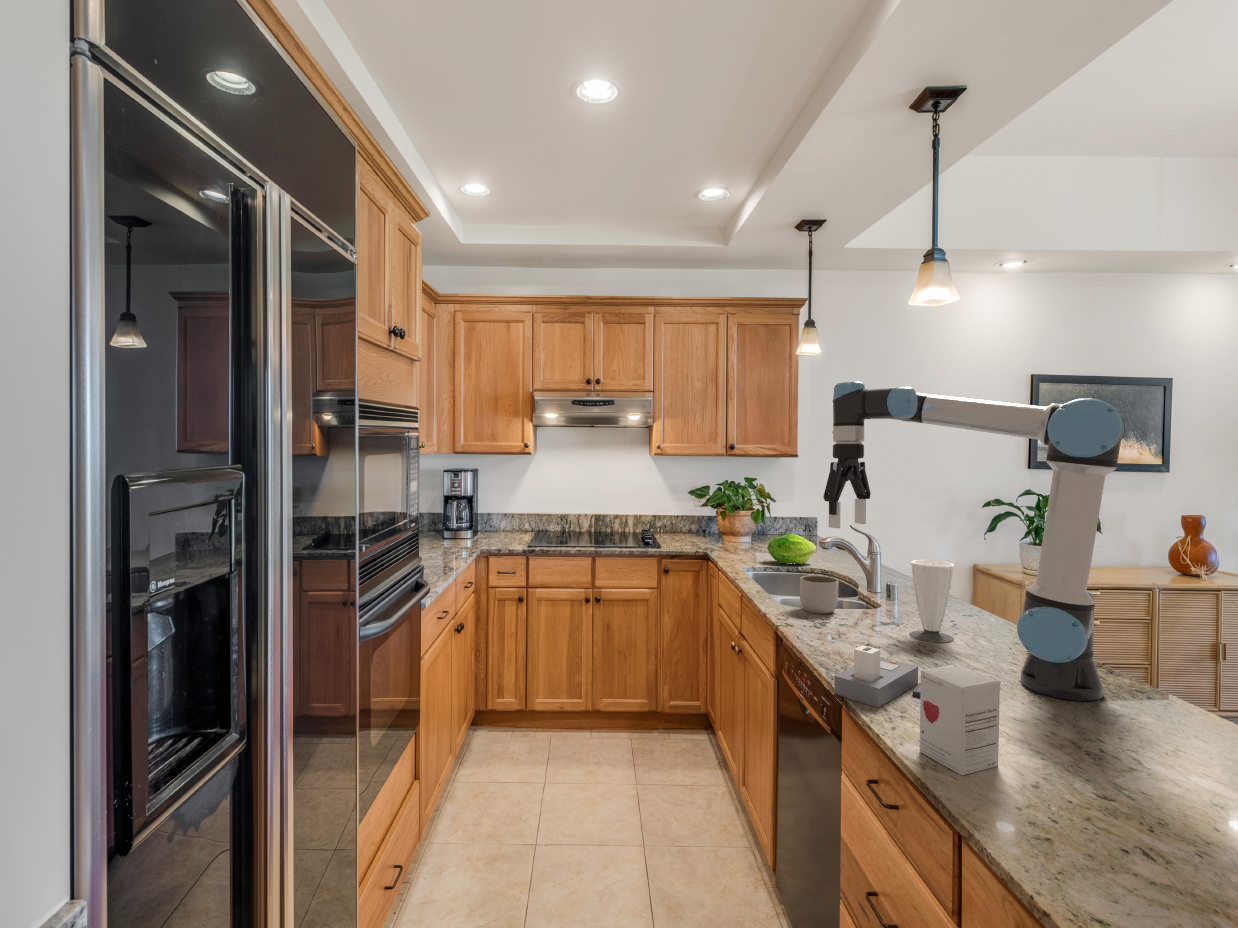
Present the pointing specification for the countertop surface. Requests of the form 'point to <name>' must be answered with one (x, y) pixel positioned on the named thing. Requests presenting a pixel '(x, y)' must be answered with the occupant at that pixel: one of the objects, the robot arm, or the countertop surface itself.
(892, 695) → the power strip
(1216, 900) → the countertop surface
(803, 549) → the green oval fruit
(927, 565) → the cup
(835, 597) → the planter
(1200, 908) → the countertop surface
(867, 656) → the block
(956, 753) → the supplement box
